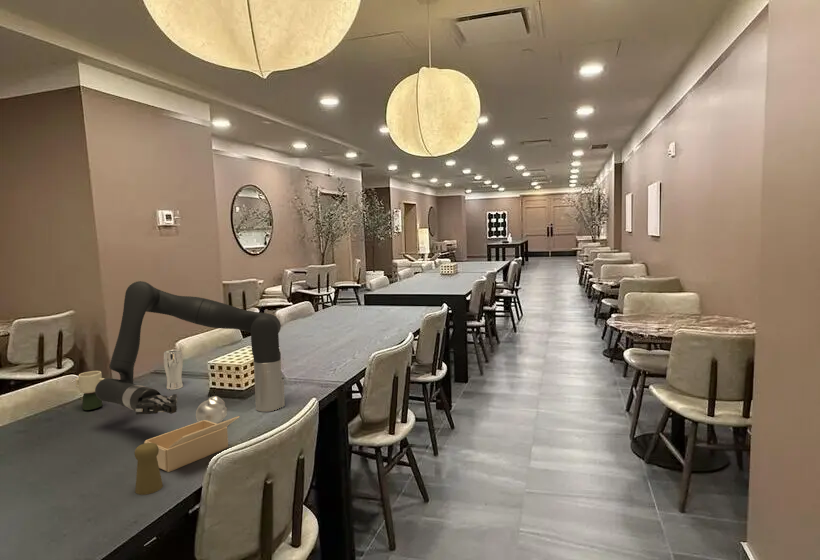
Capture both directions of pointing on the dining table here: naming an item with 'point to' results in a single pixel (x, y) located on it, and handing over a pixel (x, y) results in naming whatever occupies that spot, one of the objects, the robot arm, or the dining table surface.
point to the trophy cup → (89, 389)
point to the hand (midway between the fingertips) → (173, 409)
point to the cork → (147, 469)
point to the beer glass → (173, 368)
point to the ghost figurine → (212, 410)
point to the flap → (203, 432)
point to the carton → (188, 445)
